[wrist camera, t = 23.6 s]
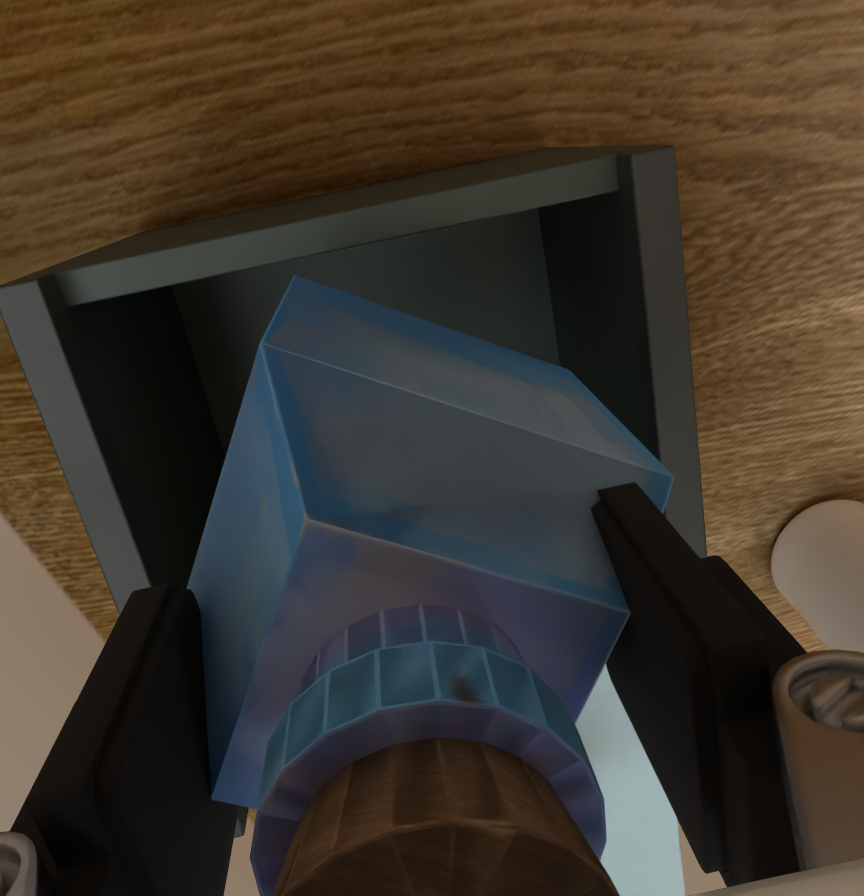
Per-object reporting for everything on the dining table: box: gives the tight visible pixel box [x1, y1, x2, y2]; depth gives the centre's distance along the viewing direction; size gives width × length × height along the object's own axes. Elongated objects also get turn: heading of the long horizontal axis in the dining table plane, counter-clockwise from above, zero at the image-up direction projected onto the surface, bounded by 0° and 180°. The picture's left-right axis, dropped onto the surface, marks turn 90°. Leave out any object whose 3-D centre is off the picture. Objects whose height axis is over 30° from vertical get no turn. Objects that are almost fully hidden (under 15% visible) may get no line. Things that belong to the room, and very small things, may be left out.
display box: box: [0, 145, 707, 838], centre depth 25 cm, size 16×15×12 cm
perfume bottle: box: [187, 275, 675, 896], centre depth 12 cm, size 6×6×12 cm
